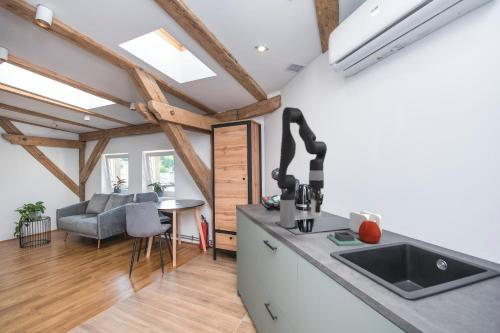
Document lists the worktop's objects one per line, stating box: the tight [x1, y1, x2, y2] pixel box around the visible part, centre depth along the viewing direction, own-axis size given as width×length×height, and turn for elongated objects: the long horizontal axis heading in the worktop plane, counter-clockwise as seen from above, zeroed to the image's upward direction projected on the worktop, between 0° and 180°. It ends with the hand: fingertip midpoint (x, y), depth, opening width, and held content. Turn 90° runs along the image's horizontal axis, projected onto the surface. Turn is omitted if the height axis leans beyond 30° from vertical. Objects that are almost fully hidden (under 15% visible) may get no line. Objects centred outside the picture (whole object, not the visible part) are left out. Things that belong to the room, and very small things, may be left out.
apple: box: [357, 221, 382, 244], centre depth 113 cm, size 10×10×10 cm
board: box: [326, 231, 364, 247], centre depth 113 cm, size 14×12×4 cm
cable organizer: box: [349, 210, 383, 235], centre depth 127 cm, size 15×11×12 cm
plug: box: [310, 199, 322, 217], centre depth 117 cm, size 4×4×8 cm
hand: (316, 211), depth 117 cm, fingers closed on plug, 4 cm apart
